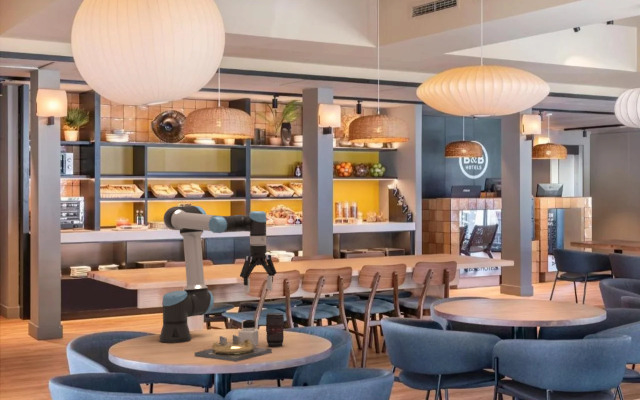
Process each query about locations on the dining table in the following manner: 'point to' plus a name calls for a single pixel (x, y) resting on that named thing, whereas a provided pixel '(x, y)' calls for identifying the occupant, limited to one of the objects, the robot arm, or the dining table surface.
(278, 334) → the camera lens
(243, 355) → the base plate
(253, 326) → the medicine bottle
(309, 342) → the dining table surface
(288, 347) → the dining table surface
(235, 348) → the ring nut
